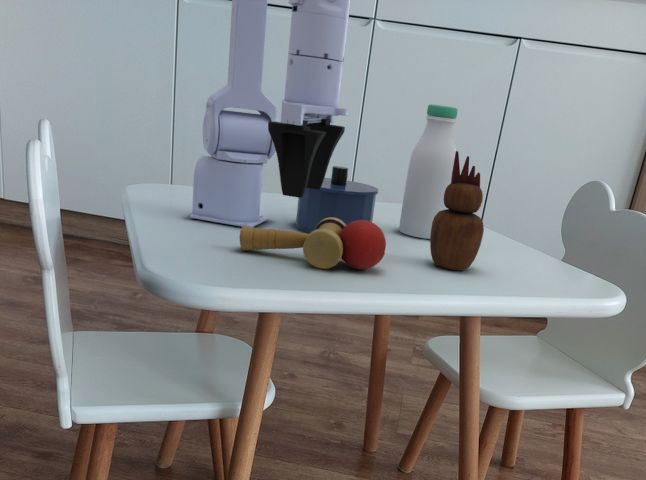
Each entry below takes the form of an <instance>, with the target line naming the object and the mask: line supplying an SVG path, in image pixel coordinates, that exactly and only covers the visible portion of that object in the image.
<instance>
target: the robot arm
mask: <svg viewBox="0 0 646 480" xmlns="http://www.w3.org/2000/svg"><path fill="white" fill-rule="evenodd" d="M351 1H352V0H288V4H289V5H291V6H292V7H291V19H290V30H289V41H288V43H289V44H288V52H287V53H288V54H287V63H286V75H285V85H284V86H285V87H284V99H282V100H281V114H280V121H278V110H277V106H276V104H275V103H274V102H273V101H272V100H271V99H270V98H269V97H268V96H267V95H266V94H265V93H264V92H263V91H262V88H263V87H262V86H263V71H264V57H265V45H266V44H265V43H266V32H267V31H266V29H267V15H268V2H269V1H268V0H231V14H230V15H231V16H230V32H229V33H230V34H229V51H228V68H227V69H228V71H227V84H226V85H225V86H223V87H222V88H220V89H218V90H217V91H215V92H213V93H212V94H211V95H210V96H209V97H208V98H207V101H206V103H205V112H204V113H205V114H204V116H203V123H202V144H203V148H204V150H205V151H206V153H207V154H208V155H202V156H200V157H199V158H198V160H197V161H196V164H195V168H194V171H193V186H192V187H193V188H192V206H191V207H192V208H191V209H192V211H191V214H190V215H189V218H190V219H195V220H201V221H206V222H212V223H219V224H224V225H231V226H235V227H241V228H242V227H243V226H246V227H254V228H255V227H256V226H259V225H261V224H263V223H264V222H267V221H268V220H269V217H267V216H264V215H263V216H262V215H260V212H261V198H262V187H263V172H264V164H265V165H266V164H268V160H271V159H272V157H273V156H274V155H275V154H276V157H277V164H278V171H279V180H280V188H281V193H282V196H287V197H292V198H302V197H303V195H304V193H305V190H306V188H310V189H317V190H320V188H321V186H322V184H323V181H324V178H326V174H327V172H328V171H327V170H328V168H329V165H330V161H331V158H332V156H333V153H334V151H335V149H336V147H337V145H338V144H339V141H340V140H341V138H342V137H343V135H344V133H345V129H346V127H345V126H344V125H337V124H334V121H335V117H338V116H345V117H347V116H349V115H350V109H349V108H346V107H345V108H344V107H339V104H340V94H341V86H342V77H343V70H344V60H345V53H346V42H347V36H348V26H349V17H350V8H351ZM227 108H233V109H239V110H240V109H241V110H249V111H257V112H258V113H251V112H242V111H234V110H224V109H227Z"/></svg>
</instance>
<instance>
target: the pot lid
mask: <svg viewBox="0 0 646 480" xmlns="http://www.w3.org/2000/svg"><path fill="white" fill-rule="evenodd" d="M348 176H349V167H345V166H339V165H333V166H332V169H331V177H325V178H324V181H323V184H322V186H321V188H320V191H325V192H331V193H338V194H347V195H362V196H368V195H376V196H377V195H378V194H379V188H377V187H375V186H373V185H370V184H367V183H363V182H357V181H353V180H348V178H349V177H348ZM315 190H317V189H315Z"/></svg>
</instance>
